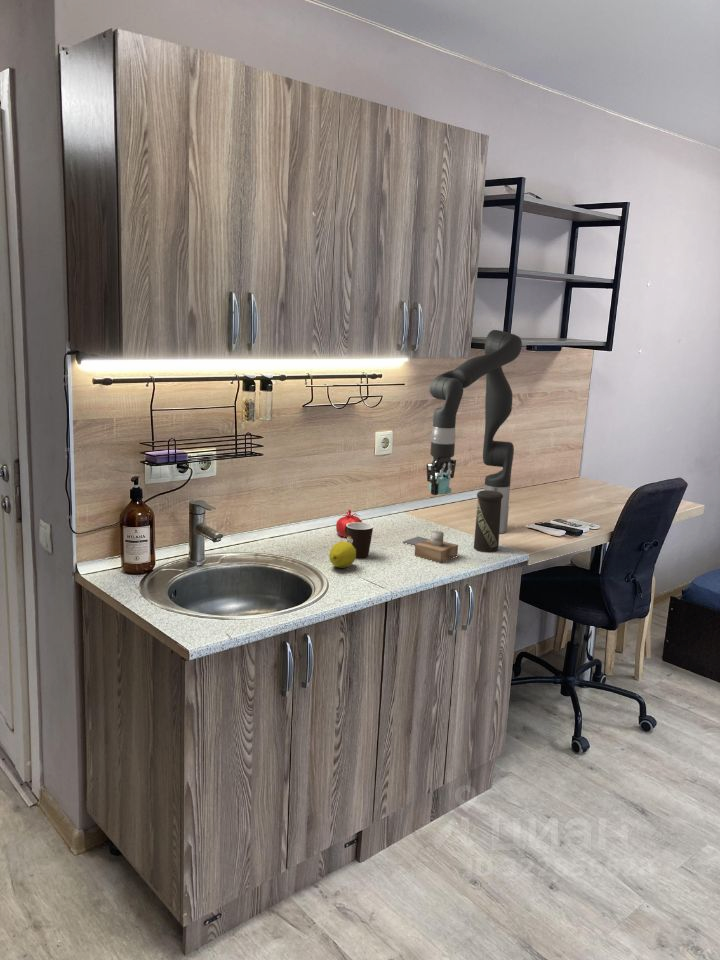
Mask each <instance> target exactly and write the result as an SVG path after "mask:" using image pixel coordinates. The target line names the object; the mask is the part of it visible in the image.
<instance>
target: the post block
mask: <svg viewBox="0 0 720 960" xmlns="http://www.w3.org/2000/svg"><path fill="white" fill-rule="evenodd" d="M430 533H431V534H430V538H429V539H430V540H427V541H424V542H421V543H418V544H415V546H414V557H415V556H416V558H419V557H420V558H419V559H423V558H424V559H423V560H426V559H427V560H426V561H430V560H432V561H431V562H434V561H436V562H435V563H438V562H440V563H439V564H442V563H444V562H443V561H445V562H447V561H446V560H448V561H450V560H452V559H451V558H453V557H455V558H457V557H458V551H459V544H455V543H452V542H448V541H444V537H445V536H444V535H445V533H444V532H443V531H440V530H434V531H432V530H431V532H430ZM456 556H457V557H456ZM449 559H450V560H449ZM453 559H454V558H453ZM441 562H442V563H441Z"/></svg>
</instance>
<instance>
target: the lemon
mask: <svg viewBox="0 0 720 960" xmlns="http://www.w3.org/2000/svg"><path fill="white" fill-rule="evenodd" d="M328 557H329V561H330V563H331V564H332V565H333V566H334V567H336V568H338V569H339V568H341V569H344V568H348V567H350V566H351V565H352V564H353V563H355V560H356V559H355V558H356V550H355V548H354V546H353V545H352V544H350V543H349V542H347V541H345V540H343V541H339V542H337V543H335V544H333V546H332V547H331V548H330V550H329V553H328Z"/></svg>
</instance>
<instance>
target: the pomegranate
mask: <svg viewBox="0 0 720 960" xmlns="http://www.w3.org/2000/svg"><path fill="white" fill-rule="evenodd" d="M339 516H341V514H338V517H339ZM353 522H362V523H364V522H363V521H362V520H361V519H360V515H358V514H357V513H353V514H352V510H351V509H348V511H347V512H345V514H342V516H341V517H340V518H339V519H338V520H337V521H336V522H335V523H336V524H335V530H336V533H337V535H339V536H341V537H344V538H345V539H347V536H346V533H345V526H346V525H347V524H348V523H353Z"/></svg>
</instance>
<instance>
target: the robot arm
mask: <svg viewBox="0 0 720 960" xmlns="http://www.w3.org/2000/svg"><path fill="white" fill-rule="evenodd" d="M522 347H523V341H522V338H521V337H520V336H518V335H516V334H515V333H511V332H507V331H503V330H499V329H492V330H491V331H489V332H488V334H487V335H486V339H485V341H484V354H483V355H479V356H474V357H472V358H469V359H467V360H466V361H464V362H462V363H460V365H458V366H457V367H456V368H454V369H451V370H448V371H446V372H444V373H441V374H439V375H437V376H435V378H434V379H433V380H432V381H431V383H430V385H429V393H430V395H431V396H432V397H433V398H434V399H437V400H442V401H445V403H444V405H443V406H440V407H436V408H435V409H434V411H433V417H432V418H433V419H432V431H431V437H430V438H431V439H430V456H432V458H433V459H432V462H431V463H430V462H429V463H426V481H427V482H429V483H430V484H431V490H430V494H431V495H433V496H437V495H439V494H438V485H439V484H438V483H439V479H440V477H446V478H449V482H450V481H451V480H452V479H453V478H454V477H455V471H456V465H457V460H456V459H452V458H453V457H455V449H456V422H457V420H456V419H457V413H458V411H459V407H460V404H461V401H462V398H463V395H464V389H466V388H468V387H471V385H472V384H474V383H475V382H476V381H478V380H479V379H481V378H482V377H484V376H486V378H485V383H486V384H485V397H484V398H485V399H484V401H485V402H484V403H485V405H484V407H485V408H484V411H485V412H484V414H485V416H484V417H485V418H484V419H485V421H484V423H485V424H484V435H483V448H482V460H483V461H482V462H483V464H484V465H485V466H488V467H496V468H497V467H499V468H502V469H501V470H500V471H499V472H495V473H492V474H487V476H485V479H484V488H483V490H490V491H497V492H500V493H501V494H502V495H503V498H502V500H501V513H500V531H499V534H504V533H506V532H507V530H508V524H509V523H508V520H509V510H510V506H509V505H510V494H511V493H510V491H511V489H510V488H511V481H512V480H511V478H512V470H513V469H512V467H513V462H514V453H515V446H514V444H513V443H512V442H511V441H502V440H501V441H500V440H494V437H495V435H496V433H497V432H498V431H499V429H500V427H501V426H502V425H503V424H504V423H505V421H507V419H508V418H509V416H510V415H511V414H512V411H513V410H512V409H513V390H512V388H511V385H510V384H509V381H508V379H507V377H506V376H505V372H504V371H503V368H502V367H503V366H505V365H507V364H510V363H512V362H513V361H515V360H516V359H517V358H518V357H519V355H520V353H521V351H522ZM436 477H437V478H436Z"/></svg>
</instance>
